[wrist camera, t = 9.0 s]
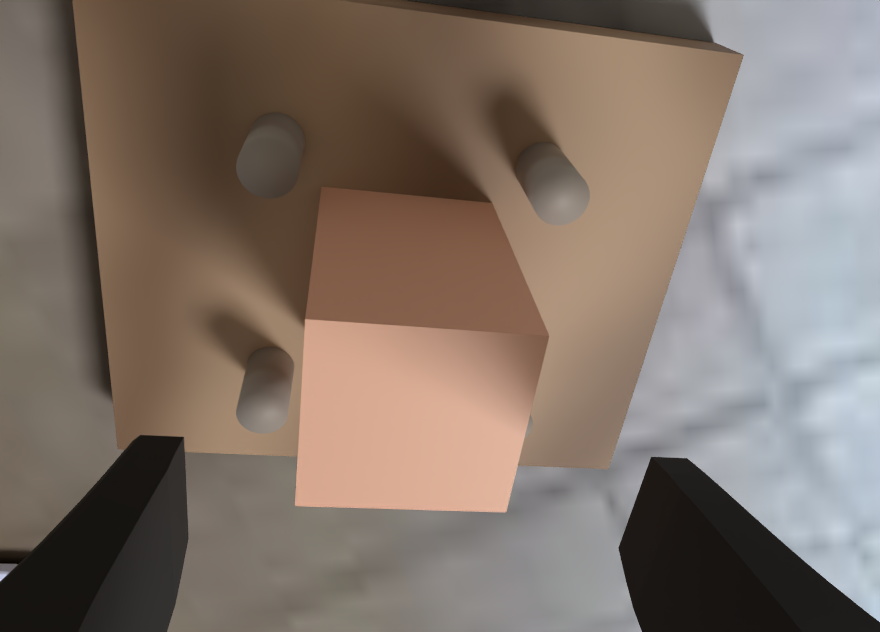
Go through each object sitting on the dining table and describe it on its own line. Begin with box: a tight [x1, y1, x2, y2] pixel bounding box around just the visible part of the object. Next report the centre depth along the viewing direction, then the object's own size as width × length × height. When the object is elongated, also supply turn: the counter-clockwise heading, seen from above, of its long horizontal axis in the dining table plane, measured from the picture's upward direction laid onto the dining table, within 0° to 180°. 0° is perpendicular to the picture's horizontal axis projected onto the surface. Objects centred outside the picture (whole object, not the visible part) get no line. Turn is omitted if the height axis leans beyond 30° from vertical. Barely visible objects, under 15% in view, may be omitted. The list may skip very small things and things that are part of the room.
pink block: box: [295, 187, 549, 512], centre depth 15 cm, size 4×4×6 cm
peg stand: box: [72, 0, 744, 469], centre depth 18 cm, size 14×12×4 cm
